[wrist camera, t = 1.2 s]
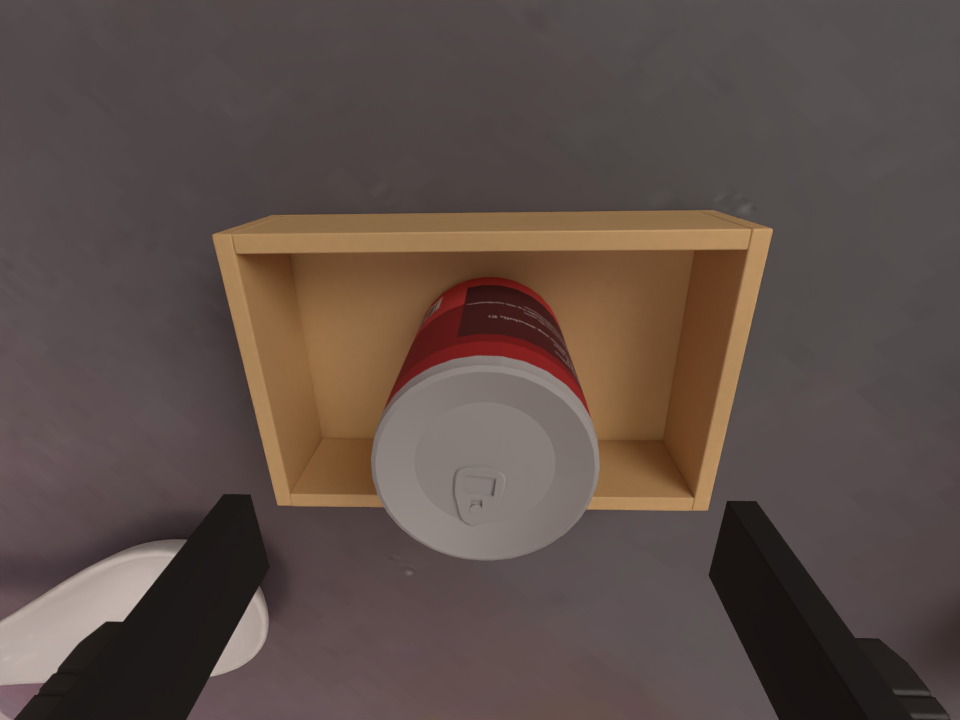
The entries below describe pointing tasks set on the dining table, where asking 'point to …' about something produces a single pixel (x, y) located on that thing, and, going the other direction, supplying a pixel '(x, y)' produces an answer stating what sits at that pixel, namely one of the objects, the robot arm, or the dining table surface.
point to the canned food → (486, 427)
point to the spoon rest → (105, 614)
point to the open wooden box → (527, 260)
